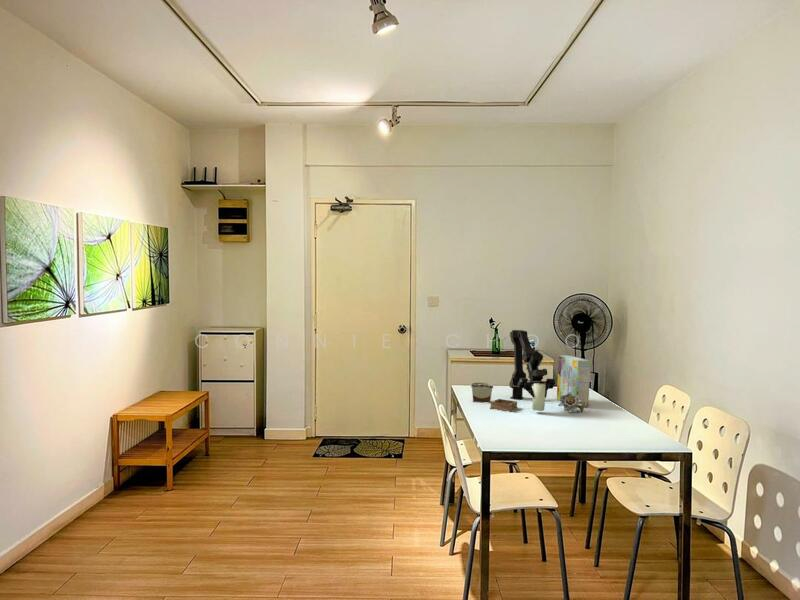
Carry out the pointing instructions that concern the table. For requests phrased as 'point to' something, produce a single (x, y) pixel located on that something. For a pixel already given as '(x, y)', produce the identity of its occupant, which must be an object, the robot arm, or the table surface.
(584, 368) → the snack box
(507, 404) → the holder
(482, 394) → the food container
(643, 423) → the table surface
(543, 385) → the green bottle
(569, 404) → the passion flower
